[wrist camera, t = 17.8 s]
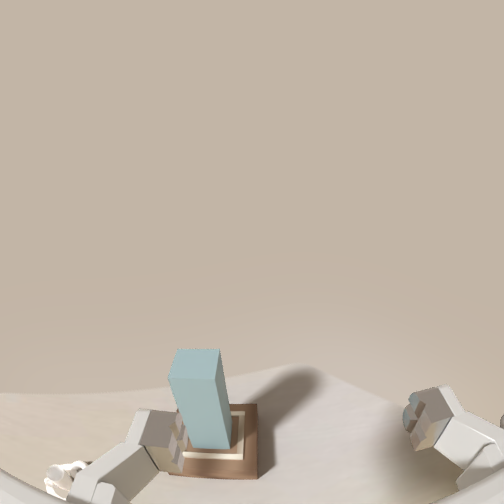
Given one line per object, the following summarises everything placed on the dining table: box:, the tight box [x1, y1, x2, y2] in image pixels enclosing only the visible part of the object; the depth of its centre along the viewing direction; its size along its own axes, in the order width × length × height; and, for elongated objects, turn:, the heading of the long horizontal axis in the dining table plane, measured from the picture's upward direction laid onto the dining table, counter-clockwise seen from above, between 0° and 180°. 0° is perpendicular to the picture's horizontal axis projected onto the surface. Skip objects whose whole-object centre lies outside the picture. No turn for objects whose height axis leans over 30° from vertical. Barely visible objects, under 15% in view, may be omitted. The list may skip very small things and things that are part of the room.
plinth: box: [168, 404, 258, 479], centre depth 36 cm, size 12×12×3 cm
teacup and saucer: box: [44, 461, 88, 501], centre depth 26 cm, size 9×8×4 cm
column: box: [168, 349, 232, 449], centre depth 33 cm, size 5×5×14 cm
